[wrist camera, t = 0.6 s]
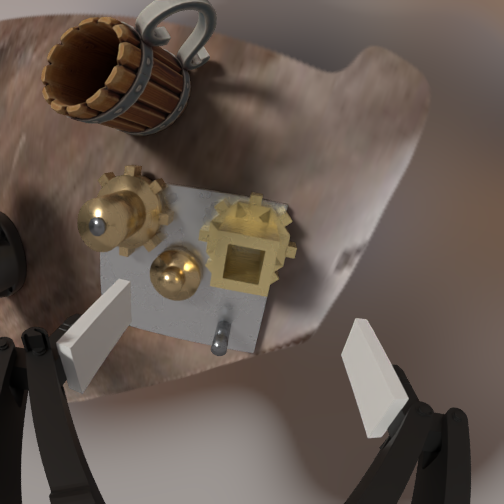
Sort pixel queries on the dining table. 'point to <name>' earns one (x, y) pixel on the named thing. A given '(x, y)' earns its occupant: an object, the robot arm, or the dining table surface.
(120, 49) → the mug
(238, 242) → the gear
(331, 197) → the dining table surface
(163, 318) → the carrier
